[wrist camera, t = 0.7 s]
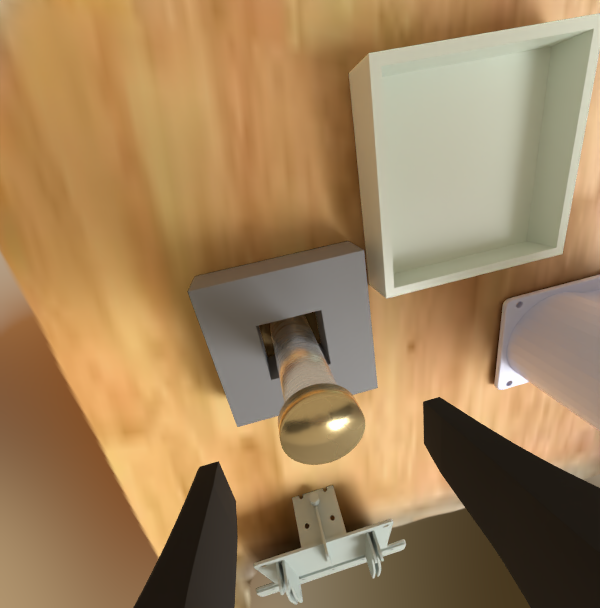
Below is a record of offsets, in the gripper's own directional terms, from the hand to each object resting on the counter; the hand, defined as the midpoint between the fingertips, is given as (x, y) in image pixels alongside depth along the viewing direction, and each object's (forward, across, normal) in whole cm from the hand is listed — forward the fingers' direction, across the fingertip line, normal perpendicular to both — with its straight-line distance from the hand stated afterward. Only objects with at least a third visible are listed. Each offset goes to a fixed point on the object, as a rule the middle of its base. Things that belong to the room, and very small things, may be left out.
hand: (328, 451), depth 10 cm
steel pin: (+10, 0, 0) cm, 10 cm away
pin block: (+10, 0, 0) cm, 10 cm away
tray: (+10, -11, -7) cm, 16 cm away
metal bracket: (+10, +1, +22) cm, 25 cm away
